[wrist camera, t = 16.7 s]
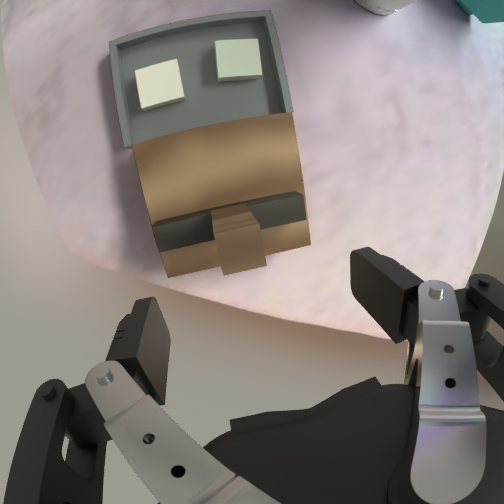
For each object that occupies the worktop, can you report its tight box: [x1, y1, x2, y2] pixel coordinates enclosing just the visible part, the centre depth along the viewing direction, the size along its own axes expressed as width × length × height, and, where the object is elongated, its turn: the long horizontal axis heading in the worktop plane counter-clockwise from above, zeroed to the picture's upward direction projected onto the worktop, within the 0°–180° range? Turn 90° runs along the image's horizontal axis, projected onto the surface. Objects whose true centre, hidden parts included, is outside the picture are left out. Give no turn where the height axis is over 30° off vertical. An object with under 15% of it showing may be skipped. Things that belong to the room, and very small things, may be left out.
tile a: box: [135, 59, 185, 111], centre depth 24 cm, size 4×4×2 cm
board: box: [132, 112, 311, 278], centre depth 29 cm, size 14×16×5 cm
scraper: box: [152, 191, 307, 275], centre depth 23 cm, size 3×14×10 cm, turn 100°
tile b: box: [214, 39, 262, 82], centre depth 25 cm, size 4×4×2 cm
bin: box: [109, 11, 293, 147], centre depth 25 cm, size 13×18×2 cm
